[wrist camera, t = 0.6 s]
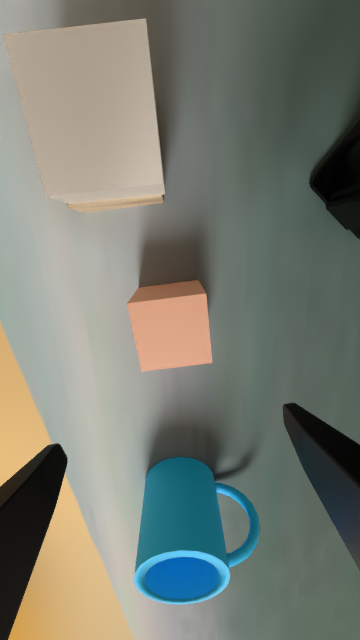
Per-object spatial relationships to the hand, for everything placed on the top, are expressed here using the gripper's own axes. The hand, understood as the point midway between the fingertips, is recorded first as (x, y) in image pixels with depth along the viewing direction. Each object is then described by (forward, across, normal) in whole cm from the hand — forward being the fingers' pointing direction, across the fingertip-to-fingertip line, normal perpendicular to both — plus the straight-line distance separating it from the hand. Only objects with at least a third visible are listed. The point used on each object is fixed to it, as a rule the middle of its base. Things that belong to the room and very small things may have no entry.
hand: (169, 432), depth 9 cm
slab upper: (+9, +1, -13) cm, 16 cm away
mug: (+12, +2, +20) cm, 23 cm away
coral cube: (+12, 0, -1) cm, 12 cm away
